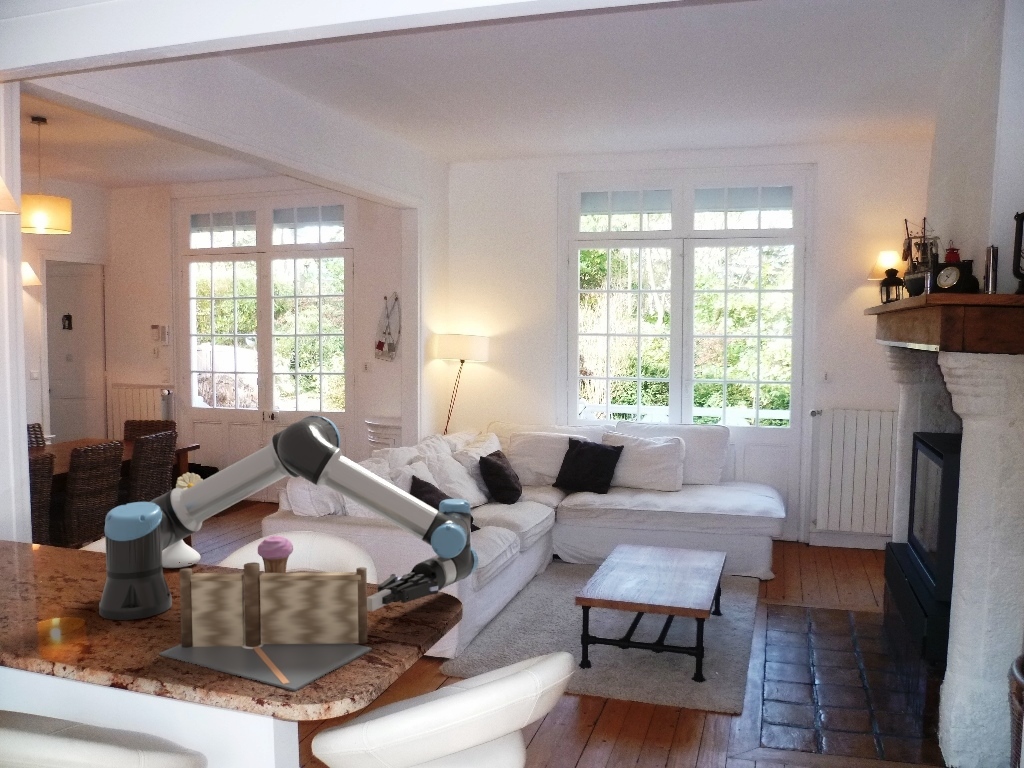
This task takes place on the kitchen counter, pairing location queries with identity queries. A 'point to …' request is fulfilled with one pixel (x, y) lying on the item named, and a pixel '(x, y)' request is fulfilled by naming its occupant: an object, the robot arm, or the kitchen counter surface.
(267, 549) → the cupcake
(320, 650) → the card
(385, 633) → the kitchen counter surface
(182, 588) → the wooden fence section
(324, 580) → the fence panel
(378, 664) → the kitchen counter surface
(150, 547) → the robot arm
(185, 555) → the flower in vase
